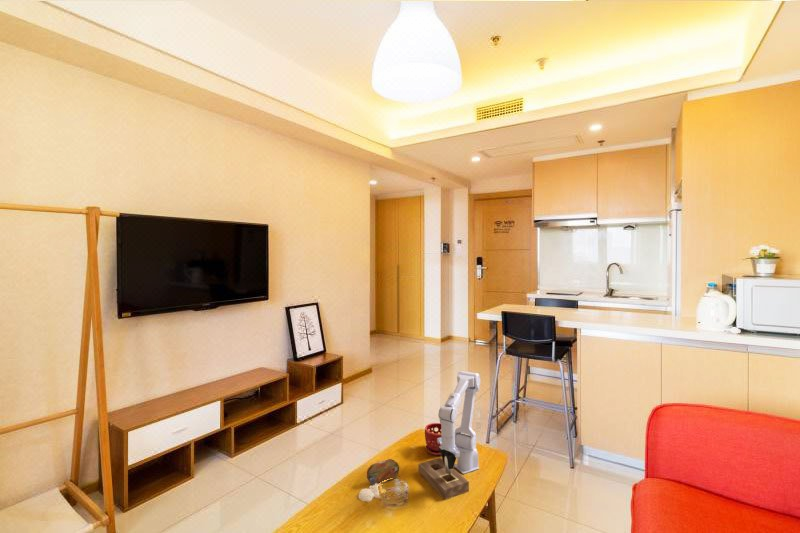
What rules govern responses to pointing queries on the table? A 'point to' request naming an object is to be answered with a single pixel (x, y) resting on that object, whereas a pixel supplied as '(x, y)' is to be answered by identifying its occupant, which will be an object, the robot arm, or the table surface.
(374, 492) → the astronaut figurine
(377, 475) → the tin
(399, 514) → the table surface
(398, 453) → the table surface
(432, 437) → the plant pot
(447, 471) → the pin
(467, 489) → the bore block
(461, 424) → the robot arm
